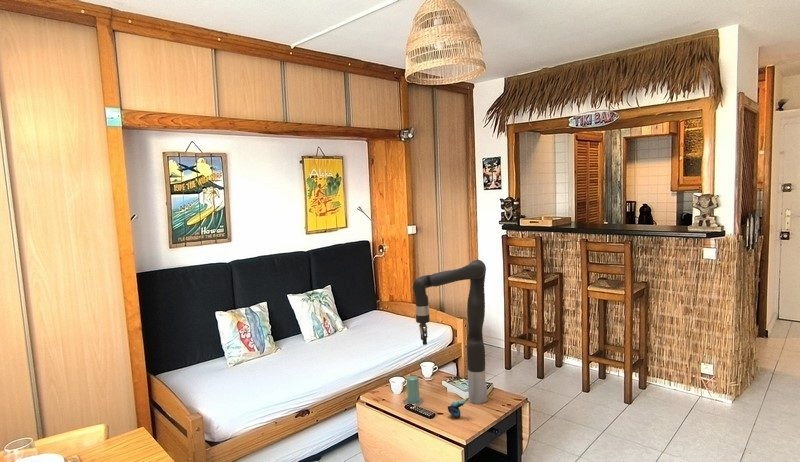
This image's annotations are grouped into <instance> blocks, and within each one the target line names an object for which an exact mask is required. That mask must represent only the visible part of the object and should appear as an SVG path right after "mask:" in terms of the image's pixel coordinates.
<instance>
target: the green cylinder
mask: <svg viewBox="0 0 800 462" xmlns="http://www.w3.org/2000/svg"><path fill="white" fill-rule="evenodd" d="M419 381H420V380H419V376H418V375H408V376H407V377H406V398H407V401H408V403H410V404H416V403H419V398H420V384H419Z"/></svg>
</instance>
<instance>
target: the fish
mask: <svg viewBox="0 0 800 462" xmlns="http://www.w3.org/2000/svg"><path fill="white" fill-rule="evenodd" d="M467 401H469V398H464V399H461V400H457V399H456V400H454V401H453V402H451V404H450V405H448V406H447V410H448V413H449V414H450V415H451V416H452V417H454V418H455V419H460V417H461V413H462V412H461V409H460V407H464V405H466V403H467Z"/></svg>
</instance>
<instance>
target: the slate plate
mask: <svg viewBox="0 0 800 462" xmlns="http://www.w3.org/2000/svg"><path fill="white" fill-rule="evenodd" d="M402 403H403V404H404V405H406V404H410V403H408V401H407V397H406V398H404V399H403V401H402ZM422 404H424V399H423V398H421V397H419V403H416V404H412V405H414V406H413V407H417V406H421V405H422ZM406 406H407V405H406Z"/></svg>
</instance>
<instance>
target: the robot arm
mask: <svg viewBox="0 0 800 462" xmlns="http://www.w3.org/2000/svg"><path fill="white" fill-rule="evenodd" d="M486 272H487V267H486V264H485V262H484V261H482V260H480V259H475V260H472V261H471V262H469V263H468V264H467V265H464V266H462V267H460V268H456V269H451V270H450V269H449V270H444V271H439V272H436V273H432V274H427V275H421V276H419V277H418V278H416V279H414V280H413V283H412V284H413V285H412V288H413V295H414V297H415V322H416V323H417V324H418V328H419V329H418V330H419V332H420V340H421V341H422V345H423V346H426V345H428V341H427V338H428V325H427V324H429V323H430V321H431V319H430V307H429V295H428V294H427V291H426V289H428V288H431V287H435V288H436V287H440V286H444V285H447V284H452V283H454V282H460V281H466V280H470V284H469V285H470V287H469V292H468V298H467V303H466V305H467V309H466V313H467V314H466V316H467V324H468V325H467V326H468V331H467V332H468V333H467V339H466V340H467V341H466V356H467V357H466V358H467V360H466V361H467V366H466V367H467V382H468V383H467V387H468V389H467V391H468V402H469V403H471V404H475V405H482V404H484V403H487V402H488V385H487V383H486V348H485V345H484V338H483V326H484V322H485V317H486V316H485V315H486V301H485V300H486V298H485V297H486V296H485V281H486V280H485V279H486Z"/></svg>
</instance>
